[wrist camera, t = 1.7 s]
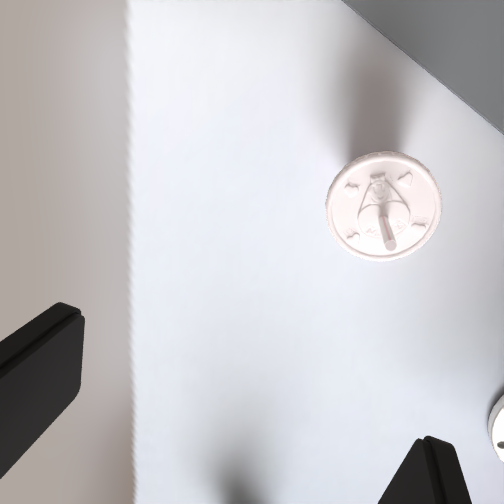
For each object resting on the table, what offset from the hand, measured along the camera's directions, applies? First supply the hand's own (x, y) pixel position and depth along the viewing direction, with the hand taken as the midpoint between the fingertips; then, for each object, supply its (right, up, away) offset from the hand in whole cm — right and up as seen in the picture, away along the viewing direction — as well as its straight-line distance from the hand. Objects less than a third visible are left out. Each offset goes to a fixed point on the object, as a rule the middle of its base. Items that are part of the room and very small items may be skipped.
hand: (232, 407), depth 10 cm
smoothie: (+10, +10, +20) cm, 25 cm away
